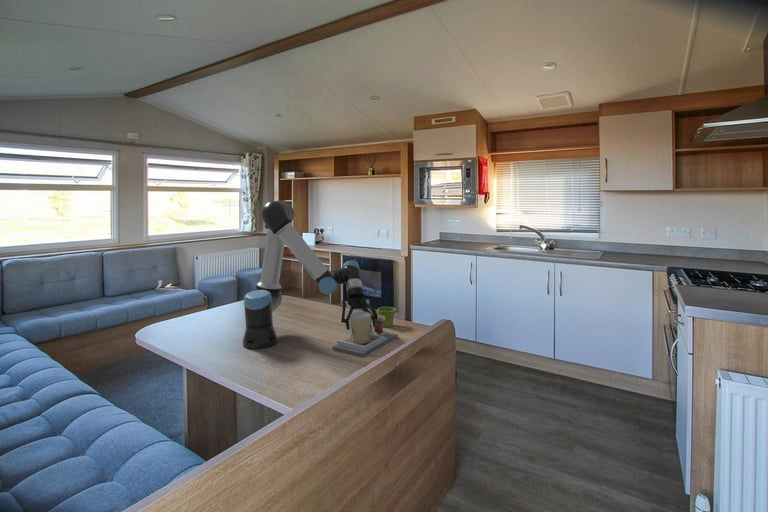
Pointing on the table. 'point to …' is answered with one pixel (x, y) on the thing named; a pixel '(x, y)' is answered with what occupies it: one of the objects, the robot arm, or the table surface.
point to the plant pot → (387, 315)
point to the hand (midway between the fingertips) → (362, 334)
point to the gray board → (366, 348)
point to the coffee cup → (360, 327)
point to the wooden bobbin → (379, 326)
